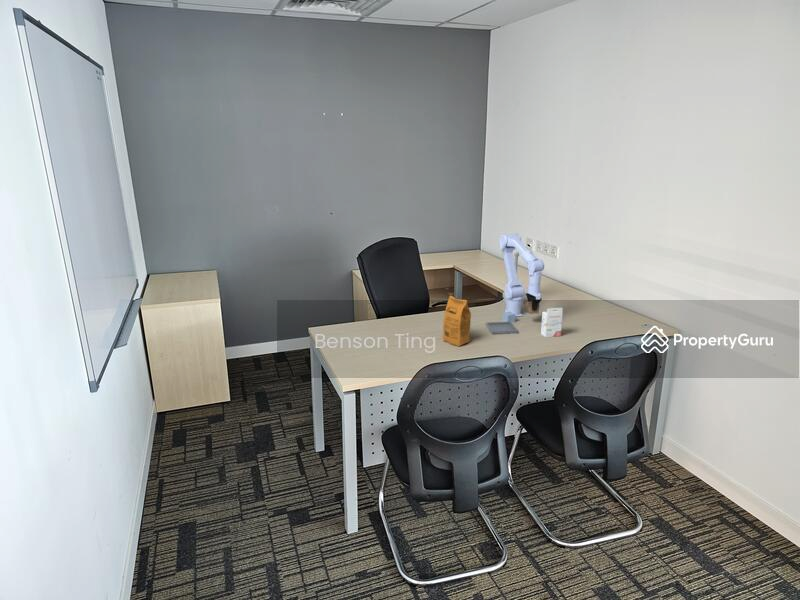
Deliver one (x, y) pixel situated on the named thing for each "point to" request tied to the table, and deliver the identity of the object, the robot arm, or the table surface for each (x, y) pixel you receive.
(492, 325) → the tray
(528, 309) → the walnut cube
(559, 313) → the ink cartridge box
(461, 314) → the coffee package
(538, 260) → the robot arm
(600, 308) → the table surface
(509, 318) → the slate blue block
